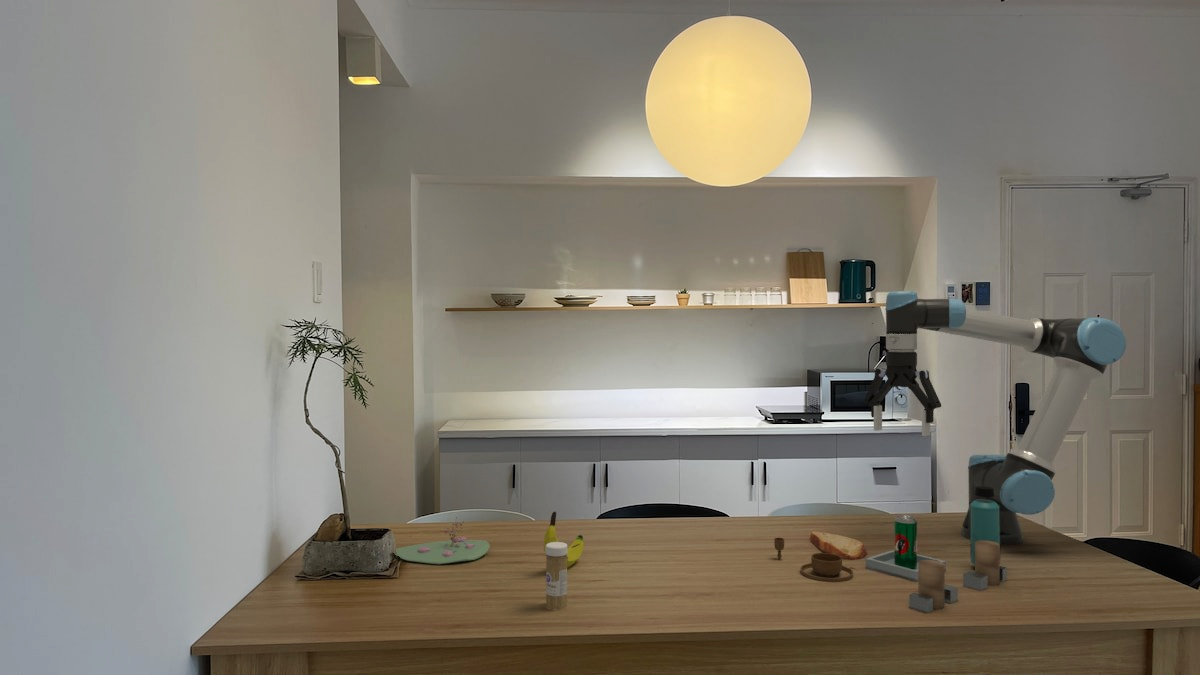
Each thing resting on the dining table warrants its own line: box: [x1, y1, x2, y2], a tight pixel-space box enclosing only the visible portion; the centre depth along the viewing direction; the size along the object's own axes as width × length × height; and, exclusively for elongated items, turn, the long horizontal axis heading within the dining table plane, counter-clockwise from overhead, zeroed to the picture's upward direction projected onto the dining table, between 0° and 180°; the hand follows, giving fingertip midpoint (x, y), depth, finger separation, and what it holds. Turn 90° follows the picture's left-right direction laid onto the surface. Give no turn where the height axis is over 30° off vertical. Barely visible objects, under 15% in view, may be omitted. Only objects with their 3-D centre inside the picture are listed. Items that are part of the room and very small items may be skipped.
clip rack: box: [908, 565, 1008, 614], centre depth 168 cm, size 34×4×3 cm, turn 128°
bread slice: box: [808, 531, 868, 561], centre depth 203 cm, size 18×18×4 cm
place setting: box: [773, 537, 858, 583], centre depth 185 cm, size 18×20×6 cm
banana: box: [543, 511, 585, 569], centre depth 187 cm, size 5×17×15 cm, turn 155°
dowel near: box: [917, 560, 946, 610], centre depth 160 cm, size 5×5×9 cm
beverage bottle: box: [969, 486, 1002, 566], centre depth 184 cm, size 6×7×20 cm
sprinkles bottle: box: [544, 541, 568, 612], centre depth 160 cm, size 5×5×14 cm
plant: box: [395, 517, 491, 565], centre depth 202 cm, size 25×21×9 cm
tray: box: [865, 549, 947, 583], centre depth 184 cm, size 13×13×2 cm
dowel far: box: [974, 540, 1001, 587], centre depth 175 cm, size 5×5×9 cm
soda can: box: [893, 514, 918, 569], centre depth 184 cm, size 5×5×12 cm
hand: (901, 432), depth 200 cm, fingers open, 13 cm apart
